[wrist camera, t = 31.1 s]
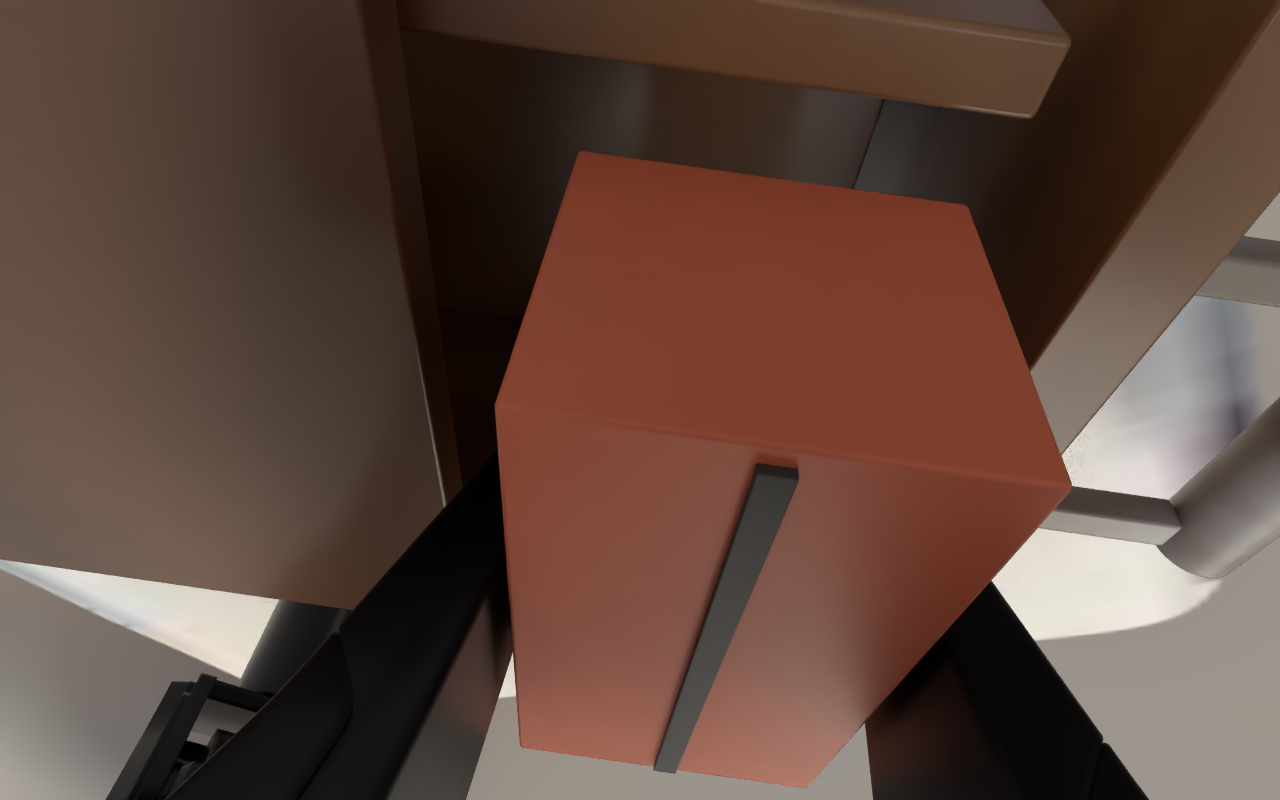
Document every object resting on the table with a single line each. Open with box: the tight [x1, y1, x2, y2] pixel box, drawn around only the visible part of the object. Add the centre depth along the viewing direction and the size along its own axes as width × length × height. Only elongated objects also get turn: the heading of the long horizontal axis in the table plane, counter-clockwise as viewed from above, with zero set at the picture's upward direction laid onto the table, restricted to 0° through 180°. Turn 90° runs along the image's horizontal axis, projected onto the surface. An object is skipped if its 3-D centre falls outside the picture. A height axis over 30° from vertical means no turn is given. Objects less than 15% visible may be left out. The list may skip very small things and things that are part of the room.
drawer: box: [395, 0, 1280, 578], centre depth 12 cm, size 18×11×7 cm, turn 85°
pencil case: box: [495, 151, 1072, 788], centre depth 9 cm, size 7×4×4 cm, turn 175°
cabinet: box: [0, 0, 462, 610], centre depth 12 cm, size 15×13×9 cm
